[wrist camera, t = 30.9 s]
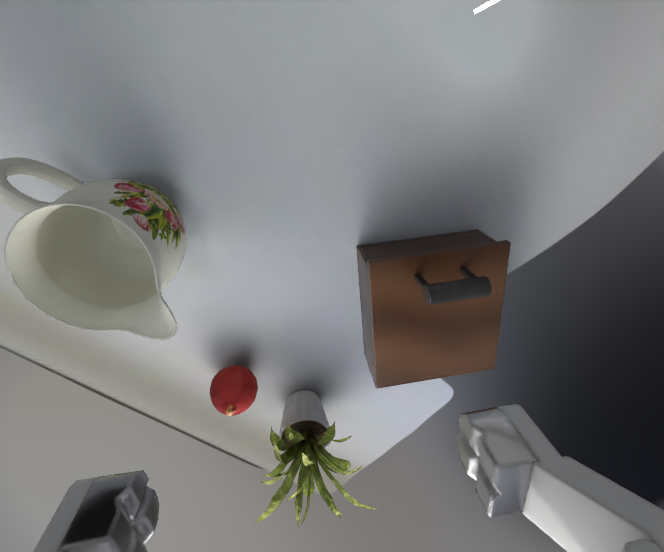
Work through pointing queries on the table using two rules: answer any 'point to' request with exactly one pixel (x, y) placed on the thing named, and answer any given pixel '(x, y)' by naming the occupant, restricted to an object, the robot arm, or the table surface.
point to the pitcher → (94, 251)
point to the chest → (401, 249)
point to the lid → (436, 312)
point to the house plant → (306, 453)
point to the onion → (233, 390)
